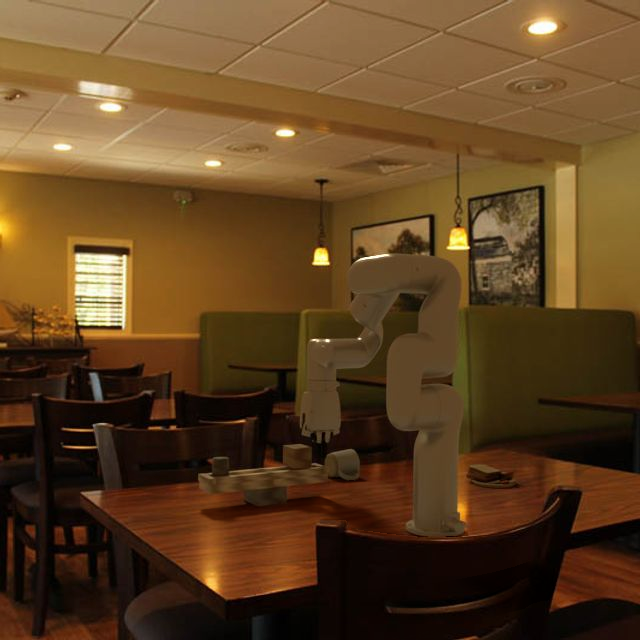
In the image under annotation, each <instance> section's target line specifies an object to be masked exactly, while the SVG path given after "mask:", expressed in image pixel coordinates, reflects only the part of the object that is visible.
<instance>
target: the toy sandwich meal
mask: <svg viewBox="0 0 640 640" xmlns="http://www.w3.org/2000/svg"><path fill="white" fill-rule="evenodd" d="M515 473H516V470H512V471H510V472H509V471H508V472H504V471H502V470H500V469H497V468H496V467H491V466H488V465H487V464H471V465H469V467H468V470H467V473H466V474H465V475H466V479H470V481H471V483H473V484H474V485H475V486H478V487H483V488H490V489H491V488H493V489H504V488H505V489H506V488H512V487H514V486H515V485H516V484H517V482H518V481H517V480H516V479H514V477H515Z"/></svg>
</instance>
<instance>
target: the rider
mask: <svg viewBox="0 0 640 640" xmlns="http://www.w3.org/2000/svg"><path fill="white" fill-rule="evenodd" d="M312 449H313V448H312V446H309V445H305V444H301V443H298V444H286V445H285V444H284V445H283V446H282V466H287V467H290V468H288V470H293V469H303V468H308V467H312V463H313V461H312V454H313V453H312V452H313V451H312Z"/></svg>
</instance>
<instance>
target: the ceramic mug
mask: <svg viewBox="0 0 640 640" xmlns="http://www.w3.org/2000/svg"><path fill="white" fill-rule="evenodd" d="M324 459H325V460H324V466H326V467H329V474H328V476H329V477H331V478H333V477H336V478H337V477H339V478H341V479H343V480H345V481H349V480H354V481H357V480H358V479H359V477H360V469H361V468H360V467H361V461H360V457H359V455H358V453H357V452H356V450H354V449H352V448H349V449H344V450H339V451H334V452H331V453H327V454H326V458H324ZM337 479H338V478H337ZM356 479H357V480H356Z"/></svg>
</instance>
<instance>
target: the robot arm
mask: <svg viewBox="0 0 640 640" xmlns="http://www.w3.org/2000/svg"><path fill="white" fill-rule="evenodd" d="M346 283H347V287H348V288H349V290H350V291H351V293H353V294H355V297H353V299H352V301H351V303H350V305H349V313H350V314H351V316H352V318H353V319H354V320H355V321H356V322H357V323H359V324H360V325H361V326H363V327H364V328H363V330H362V332H361V333H360V334H359V336H358V337H357V338H312V339H309V341H308V342H307V344H306V345H307V346H306V347H307V353H306V391H303V395H302V397H301V405H300V414H299V428H300V429H301V430H302V431H301V435H302V436H304V437H308V438H310V439H311V441H312V442H313V446H314V447H313V454H314V457H315V458H317V459H320V460H321V459H325V458H326V456H327V455H328V443H329V442H330V440H331V438H332V437H333V436H336V435H338V434H340V433H341V432H340V430H341V429H340V428H341V424H342V423H341V422H342V418H341V417H342V416H341V415H342V414H341V402H340V396H339V392H338V391H337V388H338V387H339V388H340V386H341V385H340V381H337V370H340V369H341V370H342V369H360V368H364V367H366V366H367V365H368V364H370V363H371V361H372V360H373V359H374V357H375V356H376V355H377V353H378V352H379V350H380V349H381V346H382V344H383V340H384V328H383V327H384V326H383V323H382V322H383V320H384V318H385V317H386V316H387V314H388V312H389V311H390V309H391V308H392V306H393V305H394V303H395V302H396V300H397V299H398V298H399V296H400V294H424V295H427V296H426V297H425V299H424V300H423V302H422V304H421V306H420V309H419V312H418V318H417V319H418V320H417V321H418V322H417V323H418V324H417V325H418V326H417V327H418V328H417V333H405V334H402V335H399V336H397V337H396V338H395V339H394V340H393V342H392V343H391V345H390V346H389V348H388V352H387V357H386V387H385V388H386V391H385V392H386V393H385V394H386V395H385V397H386V398H385V399H386V400H385V401H386V402H385V403H386V414H387V418H388V420H389V422H390V424H391V426H393V427H394V428H396V430H399V431H403V432H411V431H418V434H417V436H416V438H415V441H414V447H413V474H412V475H413V477H412V478H413V481H412V484H413V486H412V488H413V489H412V492H413V493H412V519H410V520H409V521H407V522H406V523H405V530H406V531H407V532H408V533H411V534H412V535H417V536H421V537H426V536H427V538H447V537H446V536H454V537H458V536H461V535H463V534H464V533H465V528H466V527H467V526H468V524H467V522H466V521H464V520H461V512H460V511H458V504H459V503H458V502H459V501H458V498H459V497H458V495H459V440H460V432H461V426H462V420H463V417H464V407H465V406H464V400H463V397H462V395H461V393H460V391H458V389H456V388H455V387H454V386H451V385H449V384H444V383H425V384H424V383H423V384H422V380H423V379H432V378H433V379H435V378H445V377H448V376H450V375H452V374H453V372H455V370H456V367H457V364H458V348H459V347H458V345H459V341H458V340H459V309H460V302H461V295H462V278H461V274H460V272H459V270H458V268H457V267H456V266H455V265H454V263H452V262H451V261H449V260H447V258H446V259H445V258H443V257H439V256H437V255H435V256H434V255H427V254H412V253H411V254H409V253H386V254H384V253H383V254H379V255H374V256H373V255H372V256H367V257H361V258H359V259H356V260H355V261H354V262H353V263H352V264H351V266H350V268H349V269H348V271H347V275H346Z"/></svg>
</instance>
